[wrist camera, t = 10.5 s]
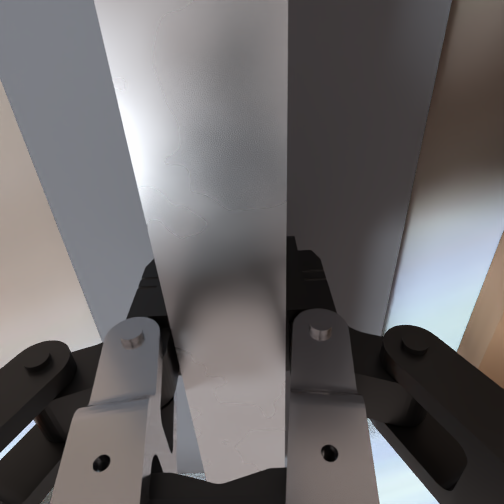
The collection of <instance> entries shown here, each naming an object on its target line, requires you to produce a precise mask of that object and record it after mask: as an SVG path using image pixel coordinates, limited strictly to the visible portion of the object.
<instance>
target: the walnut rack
mask: <svg viewBox="0 0 504 504" xmlns="http://www.w3.org/2000/svg"><path fill="white" fill-rule="evenodd" d="M457 353H458V354H459V355H461V356H462V357H463V358H465V359H466V360H467V361H468V362H470V363H471V364H472V365H474V366H475V367H476V368H477V369H479V370H480V371H481V372H482V373H484V374H485V375H486V376H488V377H489V378H490V379H491V380H493V381H494V382H495V383H496V384H498V385H499V386H500V387H502V388H503V389H504V232H503V234H502V237H501V239H500V242H499V244H498V247H497V250H496V252H495V255H494V257H493V260H492V263H491V265H490V268H489V270H488V273H487V276H486V278H485V281H484V283H483V286H482V288H481V291H480V294H479V296H478V299H477V301H476V304H475V307H474V309H473V312H472V314H471V317H470V320H469V322H468V325H467V327H466V330H465V332H464V335H463V338H462V340H461V343H460V345H459V348H458V351H457Z"/></svg>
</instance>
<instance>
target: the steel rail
mask: <svg viewBox="0 0 504 504" xmlns="http://www.w3.org/2000/svg"><path fill="white" fill-rule="evenodd" d="M94 3H95V8H96V12H97V16H98V20H99V25H100V29H101V33H102V37H103V42H104V46H105V50H106V54H107V59H108V63H109V67H110V72H111V76H112V80H113V84H114V89H115V93H116V97H117V101H118V106H119V110H120V114H121V118H122V123H123V127H124V131H125V136H126V140H127V144H128V148H129V153H130V157H131V161H132V165H133V170H134V174H135V178H136V182H137V187H138V191H139V195H140V199H141V204H142V208H143V212H144V217H145V221H146V225H147V229H148V234H149V238H150V242H151V246H152V251H153V255H154V259H155V263H156V268H157V272H158V276H159V281H160V285H161V289H162V293H163V298H164V302H165V306H166V310H167V315H168V319H169V323H170V327H171V332H172V336H173V340H174V345H175V349H176V353H177V357H178V362H179V366H180V370H181V374H182V379H183V383H184V387H185V391H186V396H187V400H188V404H189V408H190V413H191V417H192V421H193V426H194V430H195V434H196V438H197V443H198V447H199V451H200V455H201V460H202V464H203V468H204V472H205V477H206V481H207V482H211V483H216V484H222V483H226V482H229V481H232V480H235V479H238V478H241V477H244V476H247V475H250V474H253V473H256V472H260V471H263V470H266V469H269V468H282V467H285V356H286V223H287V90H288V0H94Z"/></svg>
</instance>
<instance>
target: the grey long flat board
mask: <svg viewBox="0 0 504 504" xmlns="http://www.w3.org/2000/svg"><path fill="white" fill-rule="evenodd" d="M451 3H452V0H288V90H287V223H286V236H295V240H296V245H297V249H298V250H312V251H313V252H314V253H315V254H316V255H317V256H318V257H319V258H320V259H321V262H322V266H323V269H324V272H325V275H326V280H327V282H328V285H329V288H330V292H331V295H332V298H333V302H334V305H335V308H336V311H337V314H339V315H340V316H341V317H342V318H343V319H344V320H345V321H346V323H347V325H348V326H349V327H351V328H353V329H355V330H357V331H360V332H363V333H368V334H373V335H378V336H381V334H382V329H383V325H384V320H385V315H386V310H387V306H388V301H389V296H390V291H391V287H392V282H393V277H394V273H395V268H396V263H397V258H398V254H399V249H400V244H401V239H402V235H403V230H404V225H405V221H406V216H407V211H408V206H409V202H410V197H411V192H412V187H413V183H414V178H415V173H416V168H417V164H418V159H419V154H420V150H421V145H422V140H423V135H424V131H425V126H426V121H427V116H428V112H429V107H430V102H431V98H432V93H433V88H434V83H435V79H436V74H437V69H438V64H439V60H440V55H441V50H442V45H443V41H444V36H445V31H446V27H447V22H448V17H449V12H450V8H451ZM0 79H1V82H2V84H3V87H4V90H5V92H6V95H7V97H8V100H9V102H10V105H11V108H12V110H13V113H14V115H15V118H16V121H17V123H18V126H19V128H20V131H21V133H22V136H23V139H24V141H25V144H26V146H27V149H28V151H29V154H30V157H31V159H32V162H33V164H34V167H35V170H36V172H37V175H38V177H39V180H40V182H41V185H42V188H43V190H44V193H45V195H46V198H47V200H48V203H49V206H50V208H51V211H52V213H53V216H54V219H55V221H56V224H57V226H58V229H59V231H60V234H61V237H62V239H63V242H64V244H65V247H66V249H67V252H68V255H69V257H70V260H71V262H72V265H73V268H74V270H75V273H76V275H77V278H78V280H79V283H80V286H81V288H82V291H83V293H84V296H85V298H86V301H87V304H88V306H89V309H90V311H91V314H92V317H93V319H94V322H95V324H96V327H97V329H98V332H99V335H100V337H101V340H102V342H104V339H105V336H106V334H107V333H108V332H109V330H110V329H111V328H112V327H114V326H115V325H116V324H118V323H120V322H121V321H124V320H126V318H127V315H128V312H129V310H130V307H131V304H132V302H133V299H134V296H135V294H136V291H137V289H138V286H139V283H140V280H142V275H143V272H144V270H145V267H146V266H147V265H148V264H149V263H150V262H151V261H152V260H153V259H154V255H153V251H152V246H151V242H150V238H149V234H148V229H147V225H146V221H145V217H144V212H143V208H142V204H141V199H140V195H139V191H138V187H137V182H136V178H135V174H134V170H133V165H132V161H131V157H130V153H129V148H128V144H127V140H126V136H125V131H124V127H123V123H122V118H121V114H120V110H119V106H118V101H117V97H116V93H115V89H114V84H113V80H112V76H111V72H110V67H109V63H108V59H107V54H106V50H105V46H104V42H103V37H102V33H101V29H100V25H99V20H98V16H97V12H96V8H95V3H94V0H0ZM290 387H291V373H290V371H285V467H287V455H288V430H289V404H290ZM176 394H177V452H176V459H177V472H178V474H185V473H205V472H204V468H203V464H202V460H201V455H200V451H199V447H198V443H197V438H196V434H195V430H194V426H193V421H192V417H191V413H190V408H189V404H188V400H187V396H186V391H185V387H184V383H183V379H182V375H179V376H178V380H177V386H176Z"/></svg>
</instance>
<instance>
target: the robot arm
mask: <svg viewBox="0 0 504 504" xmlns="http://www.w3.org/2000/svg"><path fill="white" fill-rule="evenodd" d="M285 371H290V373H291V387H290V404H289V430H288V455H287V467H282V468H269V469H266V470H263V471H260V472H256V473H253V474H250V475H247V476H244V477H241V478H238V479H235V480H232V481H229V482H226V483H222V484H216V483H211V482H207V481H203V480H199V479H195V478H191V477H187V476H183V475H179V474H178V472H177V459H176V452H177V394H176V386H177V380H178V376H179V375H182V374H181V370H180V366H179V362H178V357H177V353H176V349H175V345H174V340H173V336H172V332H171V327H170V323H169V319H168V315H167V310H166V306H165V302H164V298H163V293H162V289H161V285H160V281H159V276H158V272H157V268H156V263H155V259H153V260H152V261H151V262H150V263H149V264H148V265H147V266H146V267H145V270H144V272H143V275H142V280H140V283H139V286H138V289H137V291H136V294H135V296H134V299H133V302H132V304H131V307H130V310H129V312H128V315H127V318H126V320H124V321H121V322H120V323H118V324H116V325H115V326H114V327H112V328H111V329H110V330H109V332H108V333H107V334H106V336H105V339H104V342H102V343H100V344H98V345H95V346H91V347H88V348H84V349H81V350H78V351H74V352H71V351H70V349H69V347H68V346H67V345H66V344H65V343H63V342H60V341H44V342H41V343H38V344H35V345H33V346H31V347H29V348H27V349H25V350H24V351H22V352H21V353H20V354H18V355H17V356H16V357H15V358H13V359H12V360H11V361H10V362H9V363H7V364H6V365H5V366H4V367H2V368H1V369H0V452H1V451H2V450H3V449H4V448H5V447H6V446H7V445H8V444H9V443H10V442H11V441H12V440H13V439H14V438H15V437H16V436H17V435H18V434H19V433H20V432H21V431H22V430H23V429H24V428H25V427H26V426H27V425H28V424H29V423H30V422H31V421H32V420H34V421H35V423H36V425H35V426H34V427H33V428H32V429H31V430H30V431H29V432H28V433H27V434H26V435H25V436H24V437H23V438H22V439H21V440H20V441H19V442H18V443H17V444H16V445H15V446H14V447H13V448H12V449H11V450H10V451H9V452H8V453H7V454H6V455H5V456H4V457H3V458H2V459H1V460H0V504H40V503H41V502H42V500H43V499H44V498H45V497H46V495H47V494H48V493H49V492H50V491H51V489H52V488H53V487H54V489H53V493H52V497H51V500H50V504H380V503H379V497H378V490H377V483H376V476H375V470H374V463H373V456H372V449H371V443H370V436H369V429H368V422H367V418H369V419H370V420H371V422H372V423H373V425H374V426H375V427H376V429H377V430H378V431H379V432H380V433H381V435H382V436H383V437H384V438H385V439H386V440H387V442H388V443H389V444H390V445H391V446H392V448H393V449H394V450H395V451H396V452H397V454H398V455H399V456H400V457H401V458H402V459H403V461H404V462H405V463H406V464H407V465H408V467H409V468H410V469H411V470H412V471H413V473H414V474H415V475H416V476H417V477H418V478H419V480H420V481H421V482H422V483H423V484H424V486H425V487H426V488H427V489H428V490H429V492H430V493H431V494H432V495H433V496H434V497H435V499H436V500H437V501H438V502H439V503H440V504H504V389H503V388H502V387H500V386H499V385H498V384H496V383H495V382H494V381H493V380H491V379H490V378H489V377H488V376H486V375H485V374H484V373H482V372H481V371H480V370H479V369H477V368H476V367H475V366H474V365H472V364H471V363H470V362H468V361H467V360H466V359H465V358H463V357H462V356H461V355H459V354H458V353H457V352H456V351H454V350H453V349H452V348H451V347H449V346H448V345H447V344H445V343H444V342H443V341H442V340H440V339H439V338H438V337H437V336H435V335H434V334H432V333H431V332H429V331H427V330H425V329H423V328H420V327H417V326H412V325H399V326H395V327H392V328H391V329H389V330H388V331H387V332H386V333H385V335H384V337H383V336H378V335H373V334H368V333H363V332H360V331H357V330H355V329H353V328H351V327H349V326H348V325H347V323H346V321H345V320H344V319H343V318H342V317H341V316H340V315H339V314H337V311H336V308H335V305H334V302H333V298H332V295H331V292H330V288H329V285H328V282H327V280H326V275H325V272H324V269H323V266H322V262H321V259H320V258H319V257H318V256H317V255H316V254H315V253H314V252H313V251H312V250H298V249H297V245H296V240H295V236H286V356H285Z"/></svg>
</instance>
